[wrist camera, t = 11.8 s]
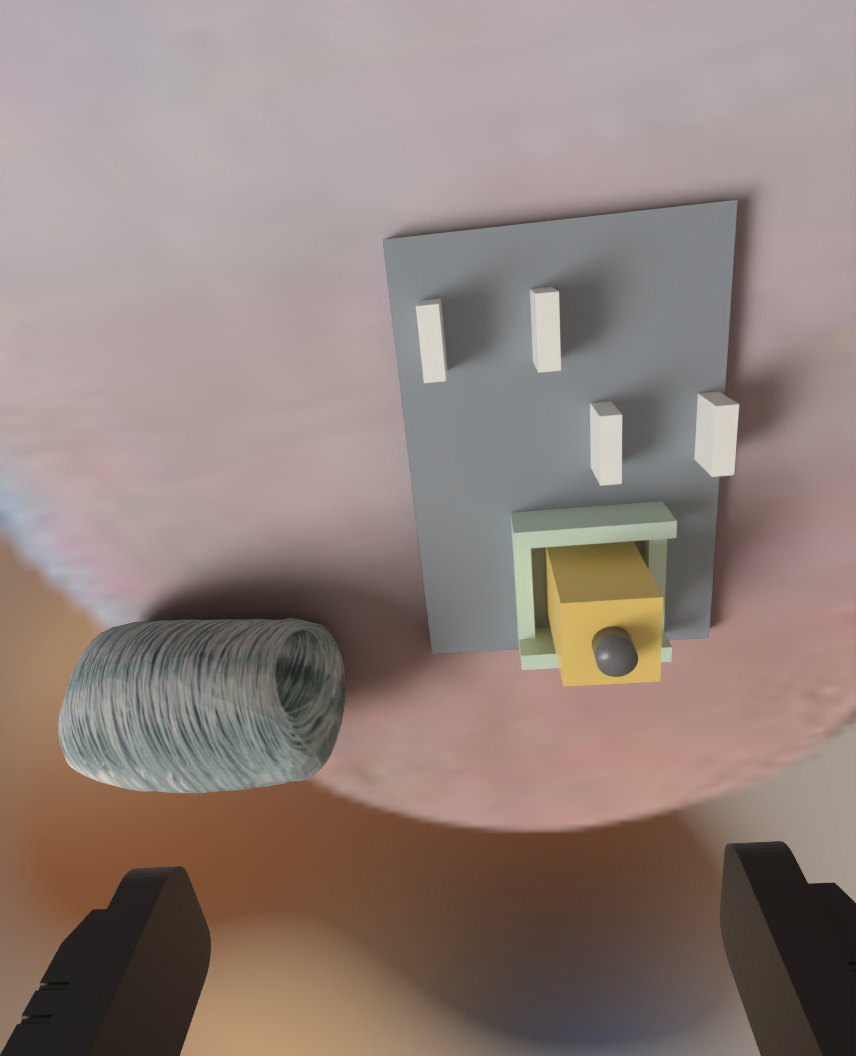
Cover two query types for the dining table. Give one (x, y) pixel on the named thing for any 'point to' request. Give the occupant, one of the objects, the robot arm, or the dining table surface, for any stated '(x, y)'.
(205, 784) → the spool
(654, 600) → the yellow drawer
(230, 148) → the dining table surface
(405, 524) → the dining table surface
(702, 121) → the dining table surface
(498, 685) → the dining table surface
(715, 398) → the white blocks
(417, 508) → the board
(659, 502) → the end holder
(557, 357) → the white blocks
